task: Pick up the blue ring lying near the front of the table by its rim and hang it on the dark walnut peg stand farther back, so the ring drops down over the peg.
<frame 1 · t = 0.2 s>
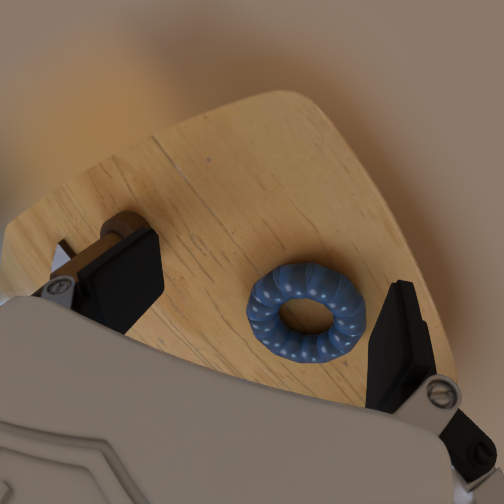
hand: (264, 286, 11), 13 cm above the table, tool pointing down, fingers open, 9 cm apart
stand: (73, 272, 38), on the table
blue ring: (305, 318, 26), point 1 cm above the table
mortar and pestle: (134, 237, 30), on the table
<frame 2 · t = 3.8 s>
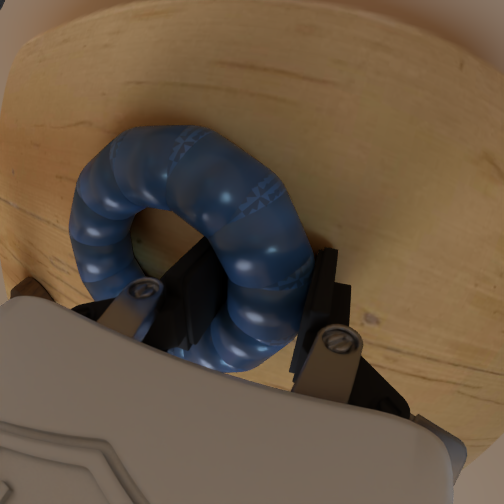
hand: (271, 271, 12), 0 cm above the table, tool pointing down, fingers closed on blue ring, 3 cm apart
blue ring: (171, 266, 11), point 2 cm above the table, touching gripper
mortar and pestle: (45, 304, 22), on the table
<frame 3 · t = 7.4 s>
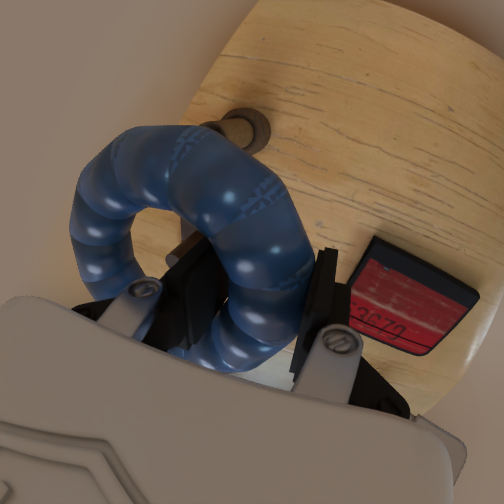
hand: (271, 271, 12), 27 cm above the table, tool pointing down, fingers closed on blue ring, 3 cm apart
stand: (206, 231, 45), on the table
blue ring: (172, 266, 11), point 29 cm above the table, touching gripper
mortar and pestle: (246, 131, 36), on the table
ink pad: (404, 302, 40), on the table
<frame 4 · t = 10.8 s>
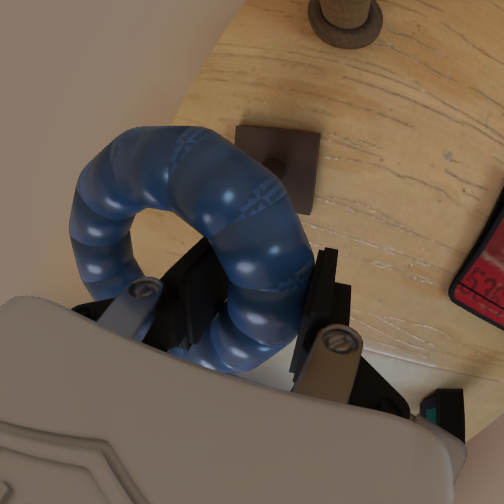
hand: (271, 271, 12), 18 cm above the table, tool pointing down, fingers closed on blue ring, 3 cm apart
stand: (276, 167, 28), on the table
blue ring: (171, 266, 12), point 19 cm above the table, touching gripper
mortar and pestle: (345, 20, 19), on the table
speaker: (438, 399, 35), on the table
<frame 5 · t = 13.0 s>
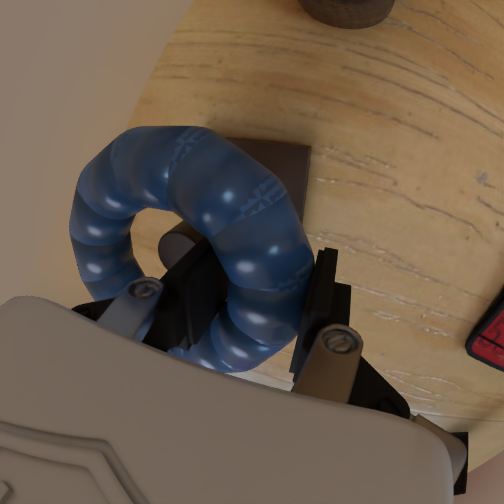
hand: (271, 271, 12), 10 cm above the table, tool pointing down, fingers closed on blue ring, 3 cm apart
stand: (251, 192, 21), on the table
blue ring: (171, 266, 12), point 11 cm above the table, touching gripper
speaker: (440, 442, 28), on the table
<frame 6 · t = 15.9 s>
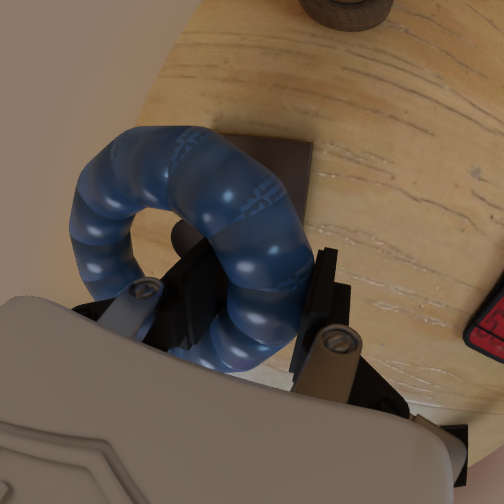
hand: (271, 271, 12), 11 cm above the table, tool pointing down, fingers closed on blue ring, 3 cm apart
stand: (256, 187, 22), on the table
blue ring: (171, 266, 12), point 12 cm above the table, touching gripper
speaker: (440, 435, 29), on the table
when the fingers open (11 cm above the table, at t = 18.2 s): blue ring drops 9 cm, resting on stand.
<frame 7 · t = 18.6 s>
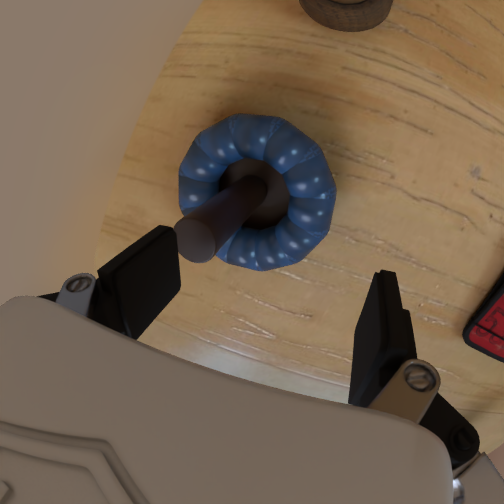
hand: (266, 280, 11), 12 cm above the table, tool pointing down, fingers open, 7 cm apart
stand: (256, 186, 22), on the table
blue ring: (252, 195, 20), point 3 cm above the table, touching stand
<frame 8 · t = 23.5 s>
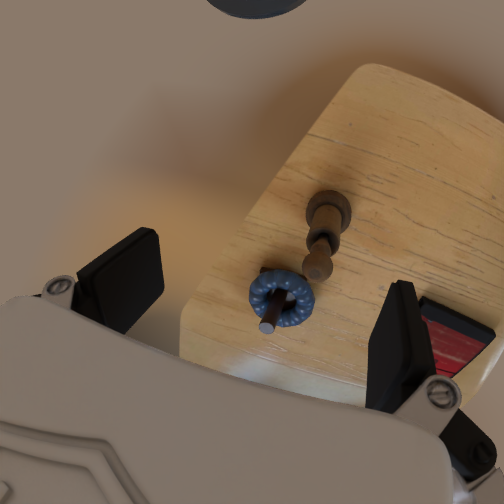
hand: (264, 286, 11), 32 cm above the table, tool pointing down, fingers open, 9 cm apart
stand: (281, 290, 50), on the table
blue ring: (281, 299, 48), point 3 cm above the table, touching stand
mortar and pestle: (329, 210, 41), on the table
ink pad: (438, 341, 45), on the table
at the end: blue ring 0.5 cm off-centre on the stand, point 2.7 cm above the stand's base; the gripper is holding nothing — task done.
